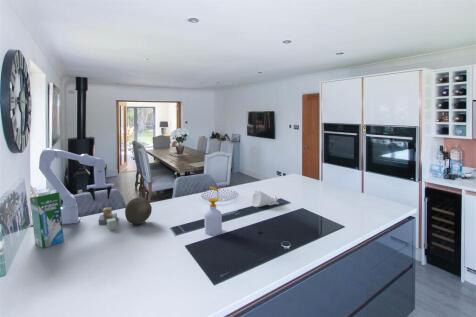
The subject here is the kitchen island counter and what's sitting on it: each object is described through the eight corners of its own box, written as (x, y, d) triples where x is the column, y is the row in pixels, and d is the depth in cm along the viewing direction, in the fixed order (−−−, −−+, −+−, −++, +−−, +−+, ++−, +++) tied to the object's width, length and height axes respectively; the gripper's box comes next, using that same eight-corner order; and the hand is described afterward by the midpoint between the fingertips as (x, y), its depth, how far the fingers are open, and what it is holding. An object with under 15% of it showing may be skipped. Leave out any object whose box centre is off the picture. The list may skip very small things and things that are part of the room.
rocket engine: (280, 189, 193) (258, 186, 186) (284, 203, 186) (262, 201, 178) (272, 198, 201) (250, 196, 193) (276, 212, 193) (254, 210, 185)
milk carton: (55, 236, 138) (50, 189, 134) (64, 241, 133) (59, 191, 129) (34, 243, 131) (29, 193, 127) (42, 248, 126) (37, 196, 122)
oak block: (103, 218, 156) (103, 210, 156) (104, 216, 160) (103, 207, 159) (111, 217, 158) (110, 209, 157) (111, 215, 162) (111, 207, 161)
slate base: (98, 224, 154) (98, 220, 154) (100, 219, 162) (100, 215, 162) (116, 222, 157) (115, 218, 157) (117, 217, 165) (116, 213, 165)
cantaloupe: (127, 230, 146) (125, 203, 144) (124, 221, 158) (123, 196, 156) (154, 225, 152) (153, 200, 150) (149, 217, 165) (148, 193, 162)
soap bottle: (204, 228, 149) (204, 185, 145) (221, 228, 150) (221, 184, 146) (204, 235, 140) (203, 189, 136) (222, 235, 141) (221, 189, 137)
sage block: (109, 230, 146) (108, 221, 145) (107, 228, 149) (106, 219, 148) (116, 228, 148) (116, 220, 148) (114, 226, 151) (114, 218, 151)
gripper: (85, 180, 158) (87, 202, 160) (112, 178, 163) (113, 200, 165) (87, 177, 164) (88, 199, 166) (113, 175, 169) (114, 196, 171)
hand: (101, 199), depth 166 cm, fingers open, 7 cm apart
